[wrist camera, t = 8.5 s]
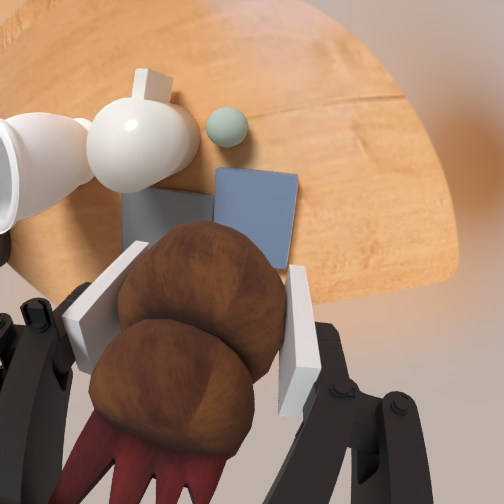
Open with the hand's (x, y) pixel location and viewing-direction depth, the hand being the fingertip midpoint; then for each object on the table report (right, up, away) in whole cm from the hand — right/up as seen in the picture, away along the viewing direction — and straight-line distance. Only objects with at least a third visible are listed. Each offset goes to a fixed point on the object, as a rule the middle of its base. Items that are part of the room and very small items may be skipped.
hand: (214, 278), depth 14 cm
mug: (-7, +15, +14) cm, 22 cm away
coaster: (-8, +3, +19) cm, 21 cm away
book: (+2, +5, +18) cm, 19 cm away
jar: (-20, +14, +16) cm, 29 cm away
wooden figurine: (0, +1, +2) cm, 2 cm away
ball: (0, +14, +14) cm, 19 cm away
